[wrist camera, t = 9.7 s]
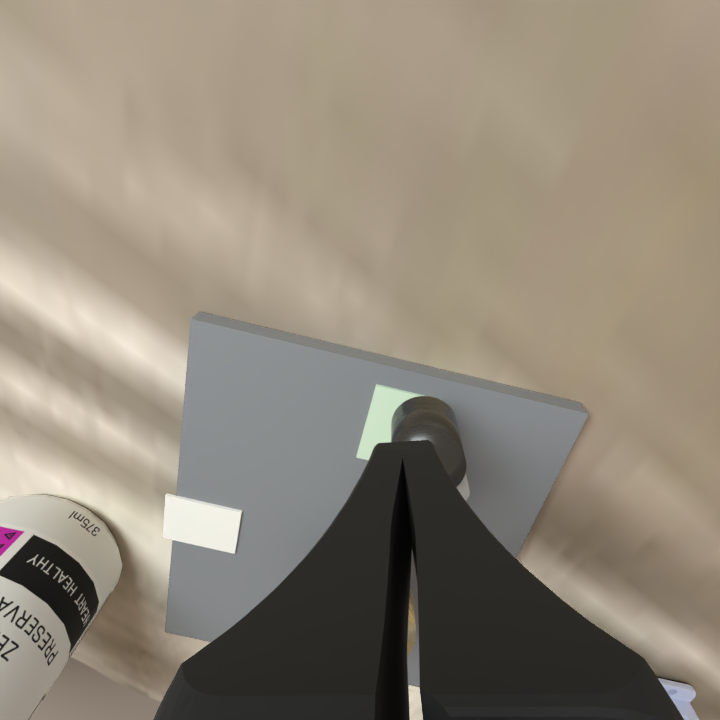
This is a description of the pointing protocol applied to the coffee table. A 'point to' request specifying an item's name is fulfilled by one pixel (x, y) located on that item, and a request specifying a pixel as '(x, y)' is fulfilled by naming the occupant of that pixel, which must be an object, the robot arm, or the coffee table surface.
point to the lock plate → (324, 459)
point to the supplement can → (47, 592)
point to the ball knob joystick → (441, 428)
